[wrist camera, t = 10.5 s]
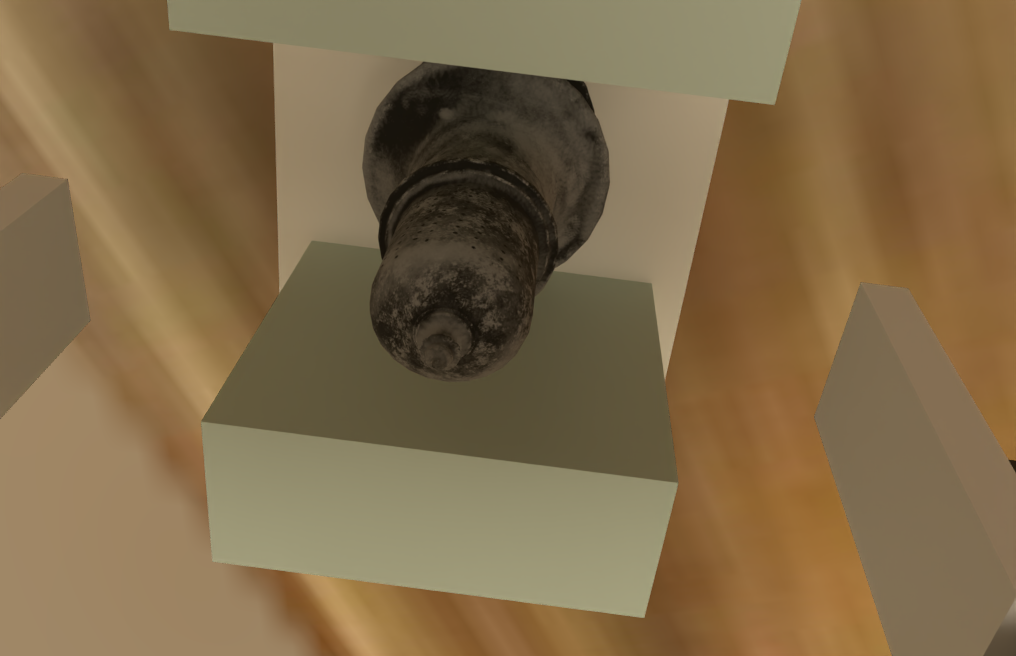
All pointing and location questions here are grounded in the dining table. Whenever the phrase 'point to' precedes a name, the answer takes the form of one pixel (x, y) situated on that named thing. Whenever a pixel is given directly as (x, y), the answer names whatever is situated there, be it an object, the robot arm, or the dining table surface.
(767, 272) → the dining table surface
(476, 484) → the cream plate with blocks
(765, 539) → the dining table surface
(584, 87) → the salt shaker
